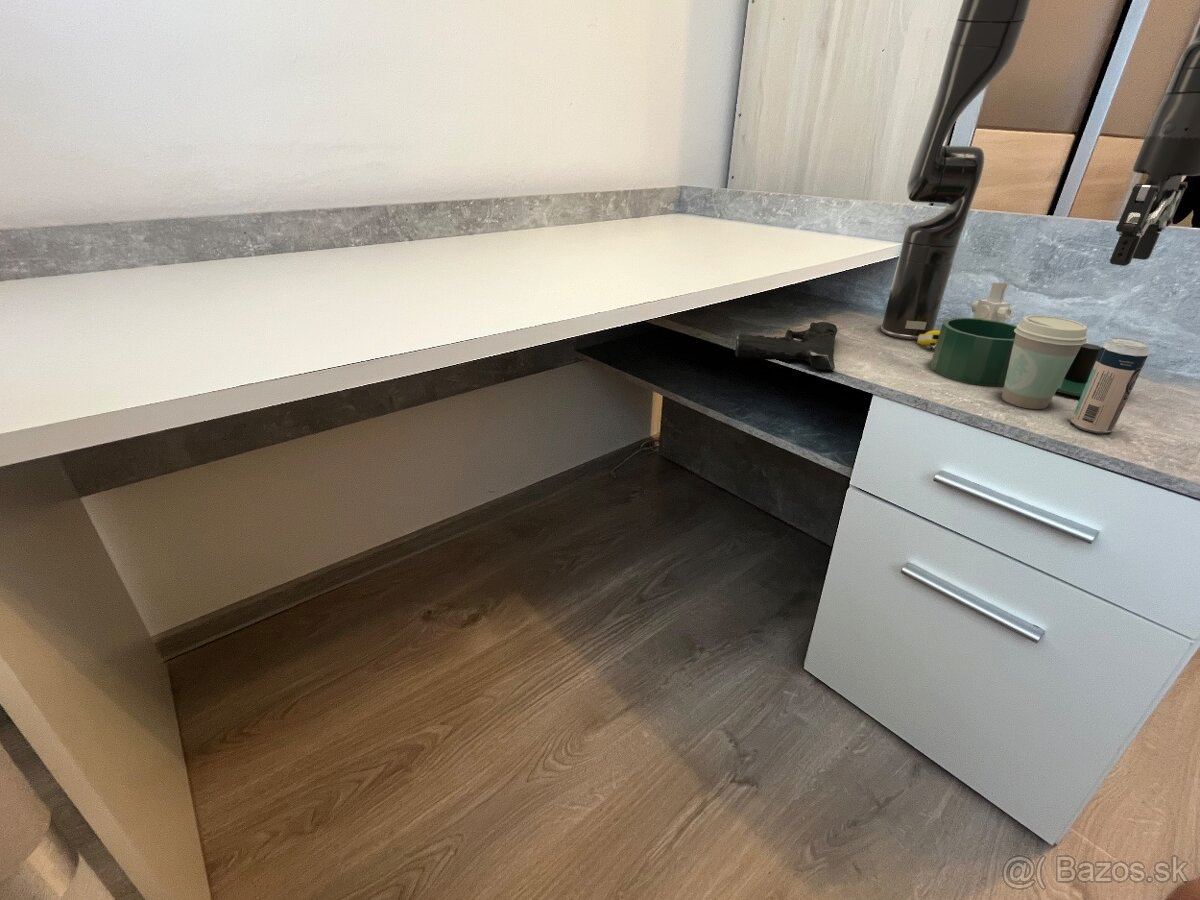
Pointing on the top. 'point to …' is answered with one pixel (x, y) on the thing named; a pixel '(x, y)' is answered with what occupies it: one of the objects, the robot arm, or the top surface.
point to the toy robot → (993, 305)
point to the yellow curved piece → (929, 338)
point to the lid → (1080, 370)
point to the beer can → (1110, 384)
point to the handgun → (792, 346)
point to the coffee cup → (1041, 359)
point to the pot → (974, 350)
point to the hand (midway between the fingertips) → (1129, 261)
